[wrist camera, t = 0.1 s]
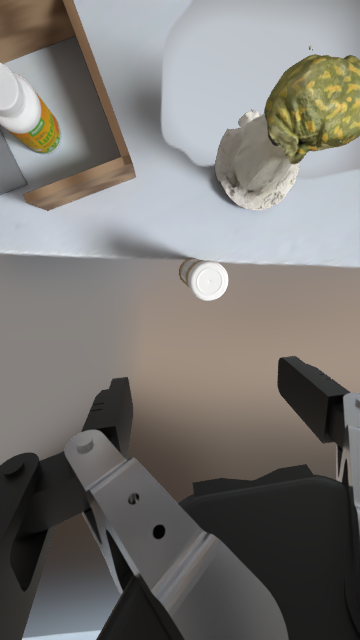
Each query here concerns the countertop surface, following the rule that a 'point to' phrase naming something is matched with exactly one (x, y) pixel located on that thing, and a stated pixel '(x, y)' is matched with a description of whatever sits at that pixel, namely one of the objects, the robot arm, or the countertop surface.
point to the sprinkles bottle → (204, 278)
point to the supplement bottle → (27, 114)
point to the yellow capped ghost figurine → (290, 129)
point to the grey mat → (9, 169)
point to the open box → (62, 23)
